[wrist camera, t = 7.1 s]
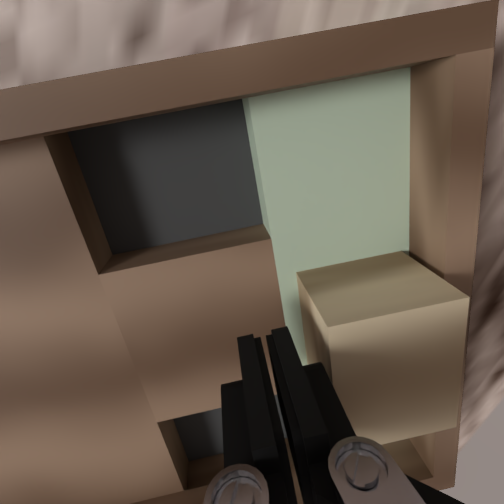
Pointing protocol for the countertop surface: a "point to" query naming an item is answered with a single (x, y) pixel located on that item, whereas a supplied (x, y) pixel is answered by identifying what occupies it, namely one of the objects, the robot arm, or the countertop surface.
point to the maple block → (387, 343)
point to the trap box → (217, 237)
